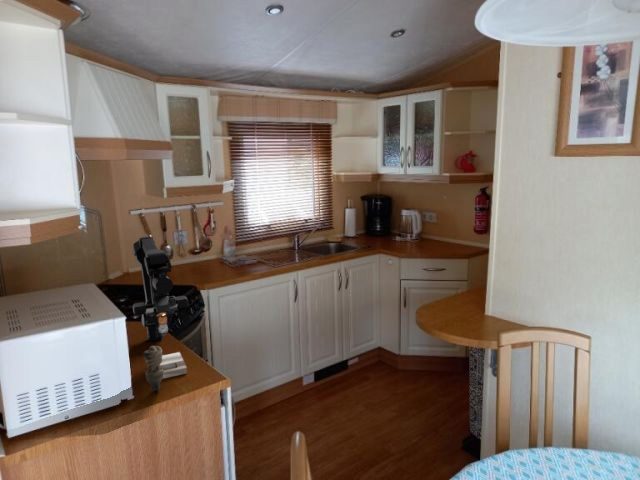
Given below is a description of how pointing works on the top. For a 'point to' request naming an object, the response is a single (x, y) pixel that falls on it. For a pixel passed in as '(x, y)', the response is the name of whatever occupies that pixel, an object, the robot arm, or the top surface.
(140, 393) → the top surface
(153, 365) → the grey stone figurine
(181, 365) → the white block
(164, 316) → the brown round tapered piece
